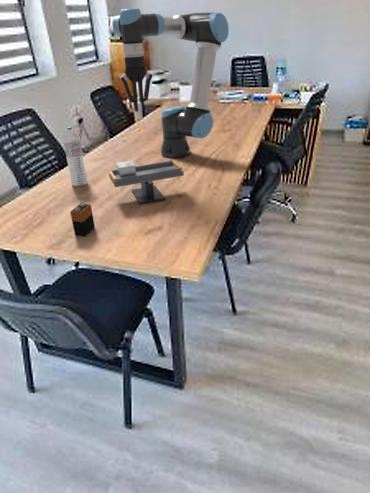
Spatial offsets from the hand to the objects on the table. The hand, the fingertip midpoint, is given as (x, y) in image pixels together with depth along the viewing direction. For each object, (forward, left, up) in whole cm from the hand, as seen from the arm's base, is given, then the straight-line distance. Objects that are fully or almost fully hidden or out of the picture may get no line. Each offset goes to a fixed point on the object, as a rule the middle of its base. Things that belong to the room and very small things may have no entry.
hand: (140, 119), depth 164 cm
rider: (+12, +18, -17) cm, 27 cm away
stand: (+4, +18, -26) cm, 32 cm away
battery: (+32, +38, -27) cm, 56 cm away
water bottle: (+28, -8, -27) cm, 39 cm away
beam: (+4, +18, -18) cm, 26 cm away
